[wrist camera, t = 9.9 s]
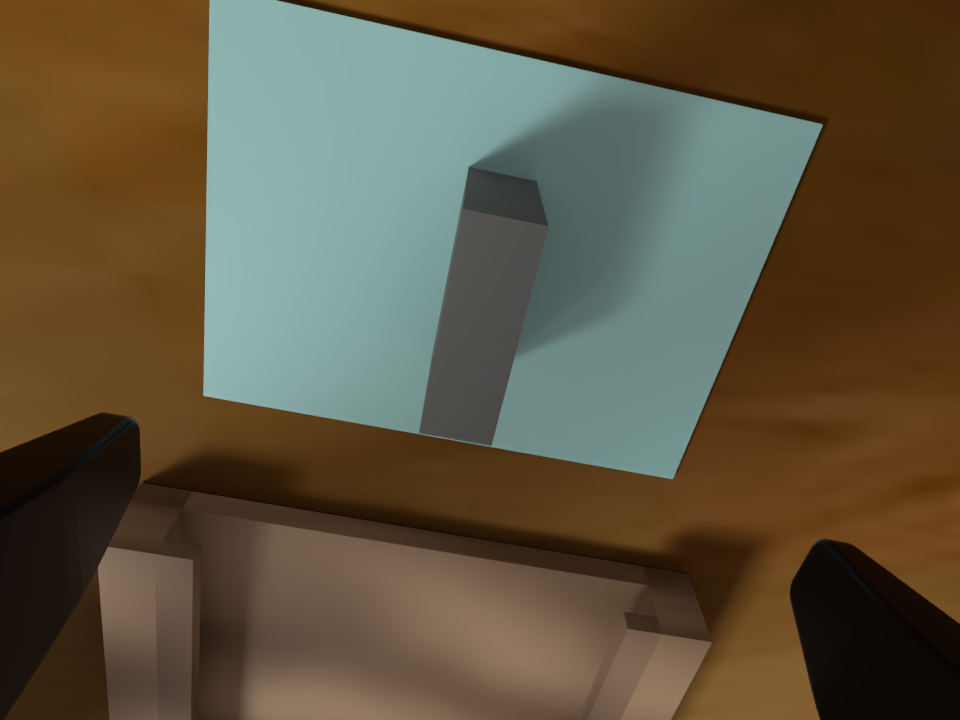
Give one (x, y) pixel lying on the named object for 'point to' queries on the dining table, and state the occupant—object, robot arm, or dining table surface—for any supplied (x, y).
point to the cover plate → (385, 221)
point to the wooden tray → (377, 621)
